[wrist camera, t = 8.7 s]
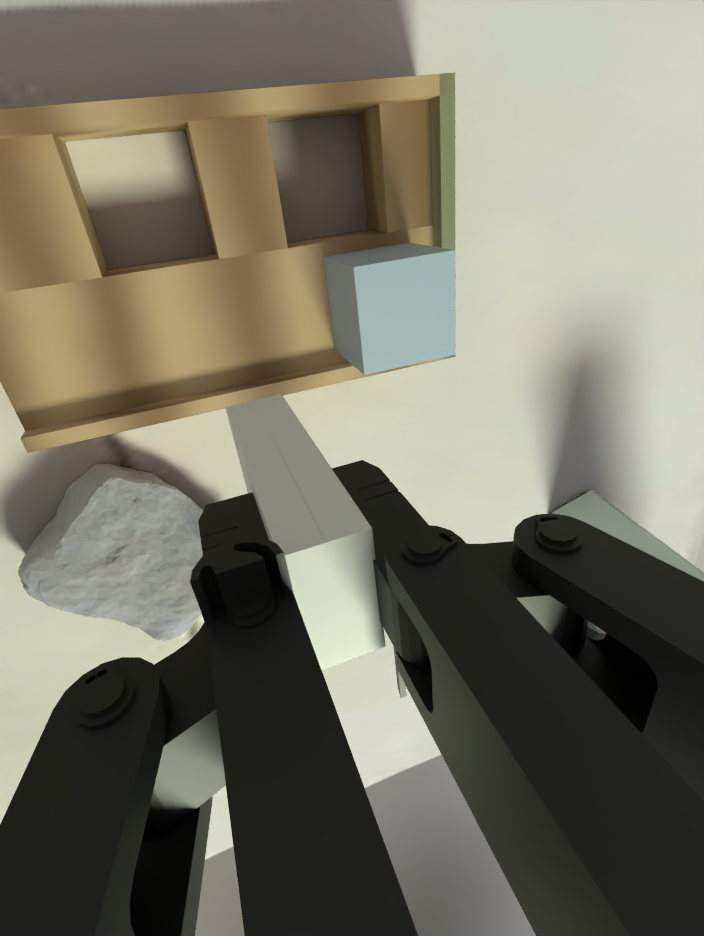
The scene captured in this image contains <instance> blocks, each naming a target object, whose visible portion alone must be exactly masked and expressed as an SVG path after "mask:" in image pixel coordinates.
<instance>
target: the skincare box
mask: <svg viewBox="0 0 704 936" xmlns="http://www.w3.org/2000/svg"><path fill="white" fill-rule="evenodd" d="M551 514H559V515H566V516H570V517H573V518H576V519H578V520H581V521H584V522H586V523H588V524H590V525H592V526H594V527H596V528H598V529H600V530H602V531H604V532H606V533H608V534H610V535H612V536H614V537H616V538H618V539H620V540H622V541H624V542H626V543H628V544H630V545H632V546H634V547H636V548H638V549H640V550H642V551H644V552H646V553H648V554H650V555H652V556H654V557H656V558H658V559H660V560H662V561H664V562H666V563H668V564H670V565H672V566H674V567H676V568H678V569H680V570H682V571H684V572H686V573H688V574H690V575H692V576H694V577H696V578H698V579H700V580H702V581H704V573H703V572H702V571H701V570H699V569H698V568H696V567H695V566H694V565H692V564H691V563H690V562H688V561H687V560H686V559H684V558H683V557H682V556H680V555H679V554H678V553H676V552H675V551H674V550H672V549H671V548H670V547H668V546H667V545H666V544H664V543H663V542H662V541H660V540H659V539H658V538H656V537H655V536H654V535H652V534H651V533H650V532H648V531H647V530H646V529H644V528H642V527H641V526H639V525H638V524H637V523H635V522H634V521H633V520H631V519H630V518H629V517H627V516H626V515H625V514H624V513H622V512H621V511H620V510H618V509H617V508H616V507H614V506H613V505H612V504H610V503H609V502H608V501H606V500H605V499H604V498H602V497H601V496H600V495H599V494H597V493H596V492H595V491H593V490H590V491H589V492H587V493H585V494H584V495H582V496H580V497H578V498H576V499H574V500H573V501H571V502H569V503H567V504H566V505H564V506H562V507H560V508H559V509H557V510H556V511H554V512H552V513H551ZM588 627H590V628H591V629H593V630H595V631H597V632H598V633H603V634H606V632H604V631H603V630H601V629H600V628H598V627H597V626H595V625H594V624H592V623H590V622H589V626H588Z"/></svg>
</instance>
